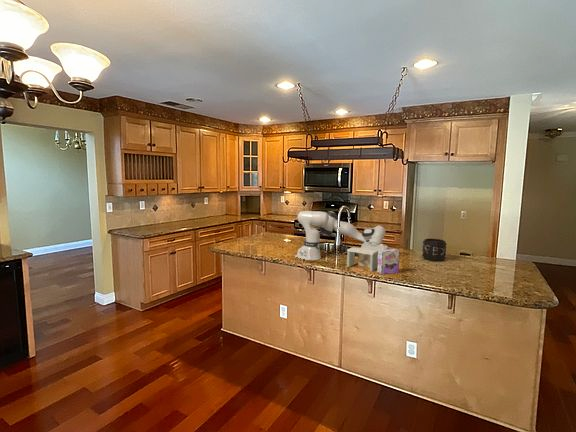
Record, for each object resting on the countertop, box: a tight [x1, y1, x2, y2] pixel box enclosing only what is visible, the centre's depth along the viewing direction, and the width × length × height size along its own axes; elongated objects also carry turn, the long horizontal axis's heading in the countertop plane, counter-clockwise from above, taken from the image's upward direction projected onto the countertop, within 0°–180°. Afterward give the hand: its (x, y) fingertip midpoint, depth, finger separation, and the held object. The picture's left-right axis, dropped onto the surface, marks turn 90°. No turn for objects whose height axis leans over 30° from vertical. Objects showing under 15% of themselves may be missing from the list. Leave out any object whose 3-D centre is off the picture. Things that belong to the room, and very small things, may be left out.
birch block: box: [357, 253, 370, 268], centre depth 259 cm, size 10×10×8 cm
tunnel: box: [346, 246, 378, 272], centre depth 251 cm, size 20×10×13 cm, turn 54°
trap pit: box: [350, 267, 365, 272], centre depth 246 cm, size 10×2×1 cm, turn 54°
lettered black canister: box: [421, 238, 447, 263], centre depth 276 cm, size 18×18×16 cm
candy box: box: [376, 248, 400, 275], centre depth 239 cm, size 14×6×16 cm, turn 105°
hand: (370, 258), depth 263 cm, fingers closed
